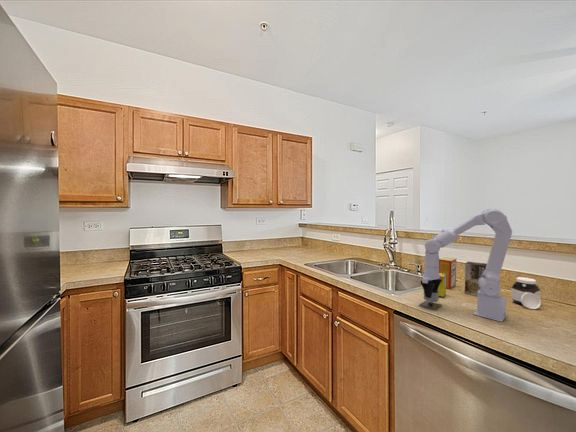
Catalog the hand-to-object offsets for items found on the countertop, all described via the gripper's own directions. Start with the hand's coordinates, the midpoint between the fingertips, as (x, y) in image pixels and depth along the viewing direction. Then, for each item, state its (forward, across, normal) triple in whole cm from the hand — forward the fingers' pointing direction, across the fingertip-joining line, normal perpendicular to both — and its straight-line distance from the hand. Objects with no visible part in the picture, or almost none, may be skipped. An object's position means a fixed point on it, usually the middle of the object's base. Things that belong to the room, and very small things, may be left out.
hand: (430, 296), depth 121 cm
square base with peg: (+5, 0, 0) cm, 5 cm away
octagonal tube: (+2, 0, 0) cm, 2 cm away
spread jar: (+5, -36, +28) cm, 46 cm away
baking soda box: (+5, -39, -6) cm, 39 cm away
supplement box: (+5, -18, -4) cm, 19 cm away
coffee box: (+5, -36, +8) cm, 37 cm away
